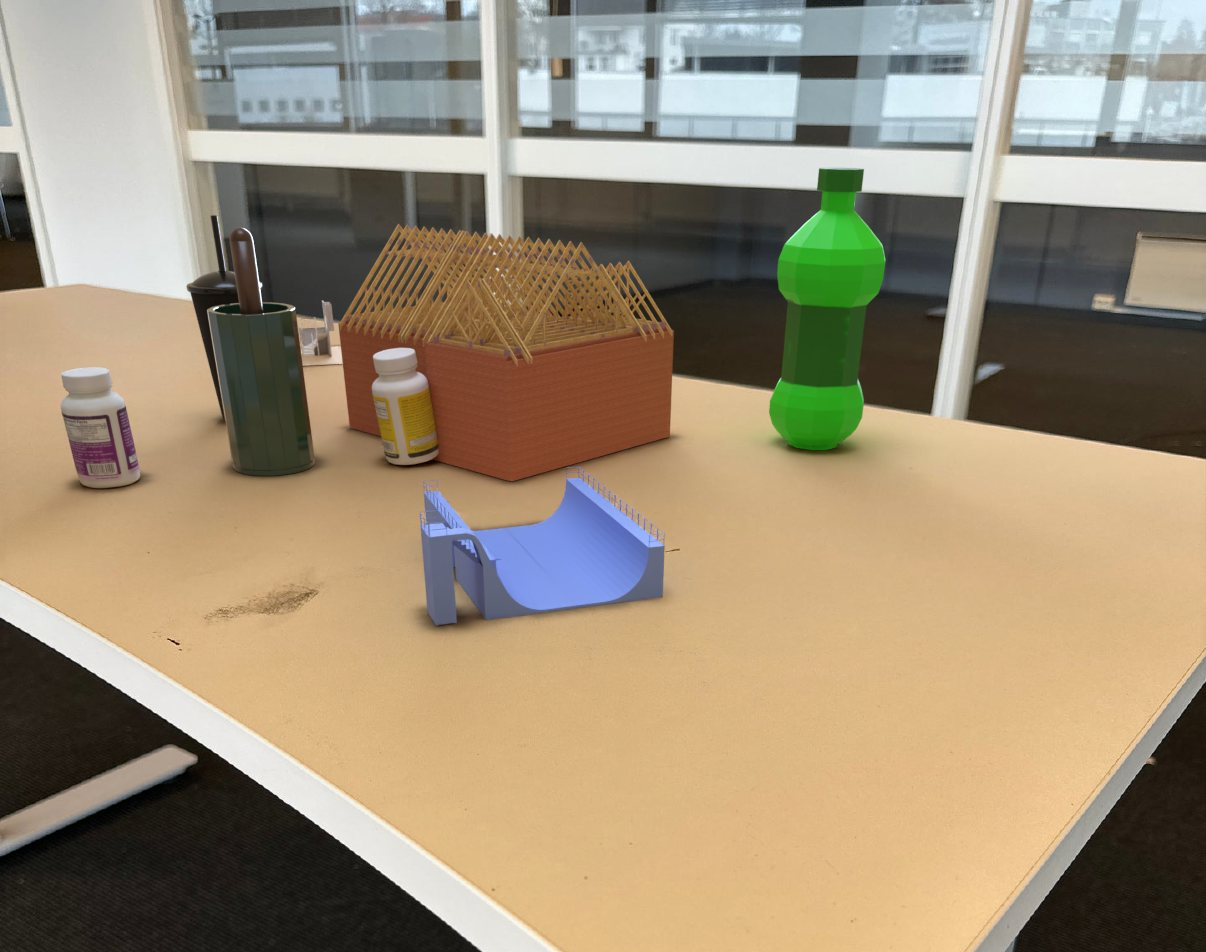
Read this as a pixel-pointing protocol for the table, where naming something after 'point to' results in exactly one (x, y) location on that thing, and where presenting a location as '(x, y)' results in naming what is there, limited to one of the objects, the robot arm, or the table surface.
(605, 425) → the house
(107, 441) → the pill bottle
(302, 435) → the green utensil holder
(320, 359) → the architectural model
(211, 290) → the drinking cup
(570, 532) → the half pipe
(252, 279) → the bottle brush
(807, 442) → the plastic bottle
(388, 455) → the supplement bottle
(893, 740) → the table surface
